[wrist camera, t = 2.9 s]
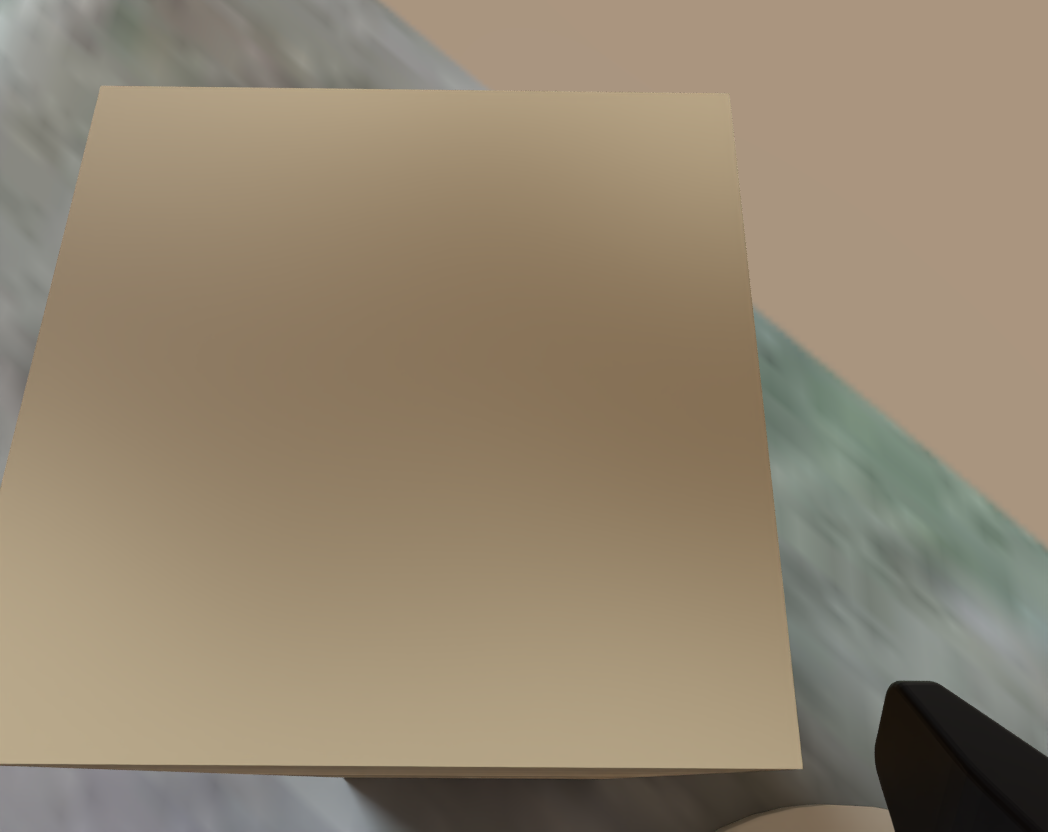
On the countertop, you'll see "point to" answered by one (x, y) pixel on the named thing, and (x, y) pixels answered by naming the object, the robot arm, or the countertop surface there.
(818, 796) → the countertop surface
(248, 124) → the wooden block
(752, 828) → the saucer
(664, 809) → the countertop surface
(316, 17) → the countertop surface
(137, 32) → the countertop surface
